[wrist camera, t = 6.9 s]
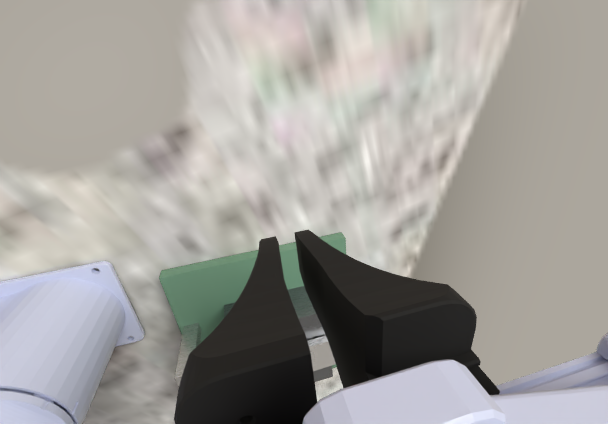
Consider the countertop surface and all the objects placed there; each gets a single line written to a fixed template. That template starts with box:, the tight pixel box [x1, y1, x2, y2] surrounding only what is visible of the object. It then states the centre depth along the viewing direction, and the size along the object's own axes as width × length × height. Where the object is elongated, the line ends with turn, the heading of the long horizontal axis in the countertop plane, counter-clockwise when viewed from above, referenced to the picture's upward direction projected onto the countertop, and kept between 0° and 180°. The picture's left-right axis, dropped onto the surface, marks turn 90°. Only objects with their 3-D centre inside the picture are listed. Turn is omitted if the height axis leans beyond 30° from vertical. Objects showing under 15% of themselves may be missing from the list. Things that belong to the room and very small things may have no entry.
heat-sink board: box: [159, 233, 346, 387], centre depth 25 cm, size 15×16×6 cm
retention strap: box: [307, 335, 336, 371], centre depth 23 cm, size 14×3×1 cm, turn 96°
